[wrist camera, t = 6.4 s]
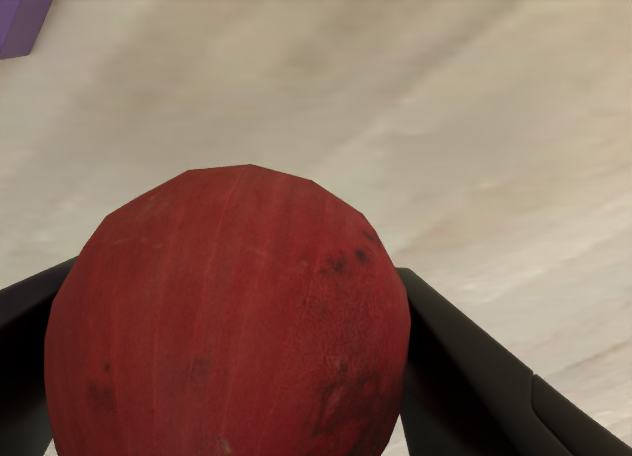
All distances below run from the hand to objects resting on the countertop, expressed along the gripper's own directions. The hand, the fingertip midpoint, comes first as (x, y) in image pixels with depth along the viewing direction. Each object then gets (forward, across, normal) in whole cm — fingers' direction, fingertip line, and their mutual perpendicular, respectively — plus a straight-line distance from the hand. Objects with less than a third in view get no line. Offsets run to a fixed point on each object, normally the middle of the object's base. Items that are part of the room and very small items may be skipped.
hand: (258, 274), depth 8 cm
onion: (+2, 0, 0) cm, 2 cm away
